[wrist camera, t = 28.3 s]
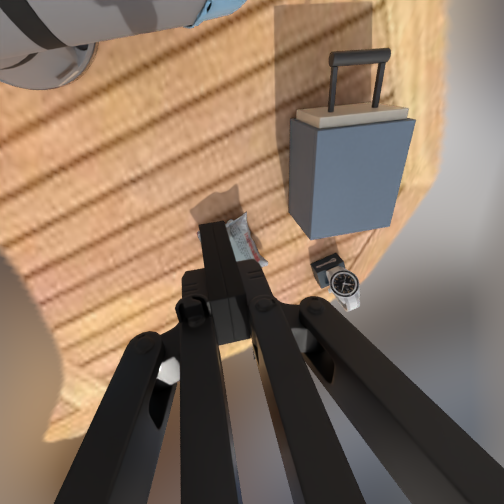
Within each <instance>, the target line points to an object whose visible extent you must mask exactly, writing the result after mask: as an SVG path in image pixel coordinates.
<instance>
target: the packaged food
mask: <svg viewBox="0 0 504 504" xmlns="http://www.w3.org/2000/svg"><path fill="white" fill-rule="evenodd" d="M225 225H226V228H227V232H228V235H229V238H230V242H231V245H232V248H233V252H234V255H235V258H236V262H237V261H242V260H248V259H255V260H256V261H257V262H258V263H260V266H261V267H263V266H267V265H268V261H267V260H265V259H264V258H263V257H262V256H261V255H260V254H259V252H258V249H257V247H256V245H255V243H254V241H253V240H252V238H251V236H250V234H251V232H250V230H249V227H248V225H247V212H245V213H244V214H243V215H241V216H240V217H239V218H237V219H235V220H229V221H228V222H227V223H226V224H225ZM197 235H198V238H199V240H200V242H201V237H200V231H198V232H197Z"/></svg>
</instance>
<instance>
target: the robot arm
mask: <svg viewBox="0 0 504 504" xmlns="http://www.w3.org/2000/svg"><path fill="white" fill-rule="evenodd" d="M246 1H247V0H0V81H1V82H3V83H6V84H9V85H12V86H16V87H19V88H25V89H32V90H46V89H54V88H59V87H63V86H66V85H68V84H70V83H72V82H74V81H76V80H77V79H79V78H80V77H81V76H82V75H83V74H84V73H85V72H86V71H87V70H88V68H89V67H90V65H91V64H92V62H93V60H94V58H95V55H96V52H97V49H98V44H99V42H100V41H106V40H111V39H117V38H122V37H128V36H133V35H139V34H144V33H150V32H155V31H161V30H166V29H172V28H177V27H185V28H194V26H198V25H199V24H200V23H202V22H203V21H206V20H210V19H214V18H218V17H222V16H226V15H230V14H232V13H234V12H235V11H236V10H238V9H239V8H241V6H242V5H243V4H244V3H245V2H246ZM199 230H200V237H201V245H202V253H203V260H204V268H202V269H197V270H191V271H186V272H185V274H184V275H183V277H182V299H180V300H179V301H178V303H177V304H176V307H175V310H176V314H177V317H178V320H179V323H178V324H177V325H176V326H175V327H174V328H173V329H171V330H169V331H167V332H165V333H163V334H161V335H160V334H158V333H157V332H152V331H148V332H143V333H141V334H139V335H137V336H135V337H134V338H133V339H132V340H131V341H130V342H129V344H128V345H127V347H126V349H125V351H124V353H123V356H122V358H121V360H120V362H119V364H118V366H117V369H116V371H115V373H114V375H113V377H112V379H111V381H110V384H109V386H108V388H107V390H106V392H105V394H104V396H103V399H102V401H101V403H100V405H99V407H98V409H97V412H96V414H95V416H94V418H93V420H92V422H91V424H90V427H89V429H88V431H87V433H86V435H85V437H84V439H83V442H82V444H81V446H80V448H79V450H78V453H77V455H76V457H75V459H74V461H73V463H72V465H71V467H70V470H69V472H68V474H67V476H66V478H65V480H64V482H63V485H62V487H61V489H60V491H59V493H58V495H57V498H56V500H55V502H54V504H147V501H148V497H149V493H150V489H151V485H152V481H153V477H154V473H155V469H156V465H157V461H158V457H159V453H160V450H161V446H162V442H163V438H164V434H165V430H166V426H167V422H168V418H169V414H170V410H171V406H172V402H173V398H174V394H175V390H176V386H177V382H178V381H180V443H181V444H180V449H181V450H180V453H181V454H180V455H181V456H180V457H181V504H243V502H242V496H241V489H240V482H239V476H238V470H237V462H236V455H235V449H234V443H233V435H232V429H231V422H230V415H229V409H228V402H227V395H226V389H225V382H224V375H223V369H222V362H221V356H220V351H219V345H223V344H228V343H232V342H236V341H241V340H245V339H250V338H252V343H253V353H254V359H256V361H257V366H258V369H259V373H260V377H261V381H262V385H263V388H264V392H265V396H266V399H267V404H268V407H269V411H270V415H271V419H272V422H273V426H274V430H275V434H276V438H277V442H278V445H279V449H280V453H281V457H282V461H283V464H284V468H285V471H286V476H287V480H288V483H289V487H290V491H291V495H292V499H293V502H294V504H366V502H365V500H364V498H363V496H362V493H361V491H360V489H359V486H358V484H357V482H356V479H355V477H354V475H353V473H352V470H351V468H350V466H349V463H348V461H347V458H346V456H345V454H344V451H343V449H342V447H341V444H340V443H339V440H338V437H337V435H336V433H335V430H334V428H333V426H332V423H331V421H330V419H329V416H328V414H327V412H326V410H325V407H324V405H323V403H322V400H321V398H320V396H319V393H318V391H317V389H316V386H315V384H314V382H313V379H312V377H311V375H310V372H309V370H308V368H307V365H306V363H307V364H308V366H309V367H310V368H311V370H312V371H313V372H314V374H315V375H316V376H317V378H318V379H319V380H320V382H321V383H322V384H323V386H324V387H325V388H326V390H327V391H328V392H329V394H330V395H331V396H332V398H333V399H334V400H335V402H336V403H337V404H338V406H339V407H340V408H341V410H342V411H343V412H344V414H345V415H346V416H347V418H348V419H349V420H350V422H351V423H352V424H353V426H354V427H355V428H356V430H357V431H358V432H359V434H360V435H361V436H362V438H363V439H364V440H365V442H366V443H367V445H368V446H369V447H370V448H371V450H372V451H373V453H374V454H375V455H376V456H377V458H378V459H379V460H380V462H381V463H382V464H383V466H384V467H385V469H386V470H387V471H388V472H389V474H390V475H391V477H392V478H393V479H394V480H395V482H396V483H397V485H398V486H399V487H400V488H401V490H402V491H403V493H404V494H405V495H406V497H407V498H408V499H409V500H410V502H411V503H412V504H504V468H503V467H502V466H501V465H500V464H499V463H497V461H495V460H494V459H493V458H492V457H491V456H490V455H489V454H488V453H487V452H486V451H485V450H484V449H483V448H482V447H481V446H480V445H479V444H478V443H477V442H475V441H474V440H473V439H472V438H471V437H470V436H469V435H468V434H467V433H466V432H465V431H464V430H463V429H462V428H461V427H460V426H459V425H458V424H457V423H455V422H454V421H453V420H452V419H451V418H450V417H449V416H448V415H447V414H446V413H445V412H444V411H443V410H442V409H441V408H440V407H439V406H438V405H437V404H435V403H434V402H433V401H432V400H431V399H430V398H429V397H428V396H427V395H426V394H425V393H424V392H423V391H422V390H420V388H419V387H418V386H416V384H414V383H413V382H412V381H411V380H410V379H409V378H408V377H407V376H406V375H405V374H404V373H403V372H402V371H401V370H400V369H399V368H398V367H397V366H395V365H394V364H393V363H392V362H391V361H390V360H389V359H388V358H387V357H386V356H385V355H384V354H383V353H382V352H381V351H380V350H379V349H377V347H376V346H374V345H373V344H372V343H371V342H370V341H369V340H368V339H367V338H366V337H365V336H364V335H363V334H362V333H361V332H360V331H359V330H357V328H356V327H354V326H353V325H352V324H351V323H350V322H349V321H348V320H347V319H346V318H345V317H344V316H343V315H342V314H341V313H340V312H339V311H338V310H337V309H336V308H334V307H333V306H332V305H331V304H330V303H329V302H328V301H327V300H325V299H324V298H321V297H316V296H311V297H307V298H305V299H303V300H302V301H301V302H300V304H299V305H292V304H285V303H282V302H280V301H278V300H277V298H275V297H274V296H273V294H272V292H271V289H270V287H269V285H268V282H267V280H266V278H265V276H264V273H263V271H262V268H261V266H260V263H258V262H257V261H256V260H255V259H248V260H242V261H237V262H236V258H235V255H234V252H233V248H232V245H231V242H230V238H229V235H228V232H227V228H226V225H225V222H224V221H219V222H213V223H207V224H201V225H199ZM304 360H305V361H304ZM305 362H306V363H305Z"/></svg>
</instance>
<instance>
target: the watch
mask: <svg viewBox="0 0 504 504" xmlns="http://www.w3.org/2000/svg"><path fill="white" fill-rule="evenodd" d="M311 267H312V270H313V274H314V277H315V279H316V281H317V283H318V284H319V286H320V287H321V289H322V288H324V287H326V286H330V288H329V289H328V291H329V293H331V292H332V293H333V294H334V295H335V297H336V298H337V300H338V302H339V304H340V305H342V307H343V308H344V309H345V310H346V311H347V312H348V311H351V310H353V309H355V308H357V307H359V306H360V300H359V297H360V290H359V280H358V278H357V276H356V275H355V274H353V273H352V272H350V271H348V270H347V269H345V265H344V261H343V260H342V259H341V258H340V257H339V255H338V254H337V253H334V254H332V255H330V256H328V257H325V258H323V259H321V260H319V261H316V262H314V263H312V264H311Z"/></svg>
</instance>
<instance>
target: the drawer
mask: <svg viewBox="0 0 504 504" xmlns="http://www.w3.org/2000/svg"><path fill="white" fill-rule="evenodd" d="M390 56H391V50H390V49H389V48H380V49H365V50H351V51H337V52H331V53H330V56H329V66H330V67H331V76H330V88H329V101H328V107H319V108H309V109H299V110H297V112H296V119H297V120H300V121H302V122H304V123H307V124H309V125H312V126H314V127H316V128H319V129H327V128H336V127H345V126H353V125H362V124H371V123H375V122H384V121H393V120H402V119H407V115H408V110H409V108H404V107H398V106H392V105H386V104H380V103H379V99H380V93H381V87H382V82H383V76H384V70H385V64H386V62H388V60H389V59H390ZM374 63H378V69H377V76H376V82H375V88H374V94H373V101H372V102H368V103H359V104H349V105H339V106H334V104H335V93H336V83H337V72H338V67H337V66H349V65H362V64H374Z"/></svg>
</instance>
